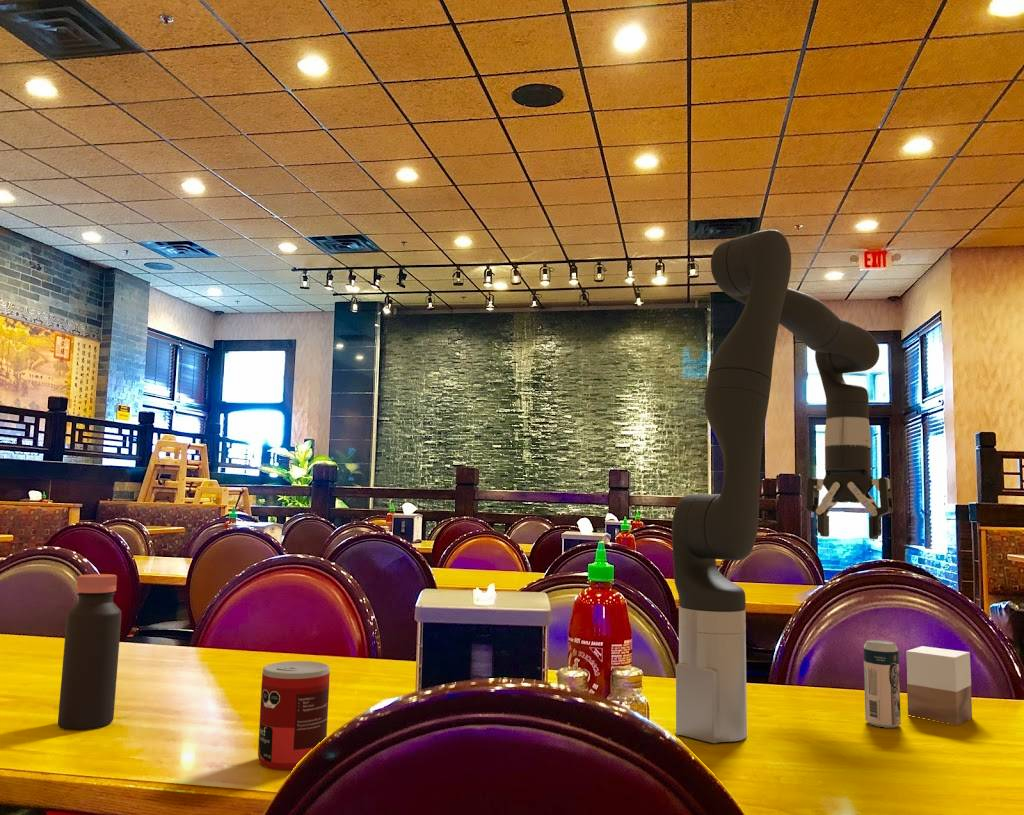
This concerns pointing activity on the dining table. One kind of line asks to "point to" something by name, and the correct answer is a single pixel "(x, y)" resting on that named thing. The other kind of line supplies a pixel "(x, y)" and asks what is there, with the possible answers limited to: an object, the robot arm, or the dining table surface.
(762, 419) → the robot arm
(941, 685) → the tower top
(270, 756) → the canned food
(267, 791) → the dining table surface
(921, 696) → the tower base
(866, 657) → the beer can
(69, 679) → the bottle
